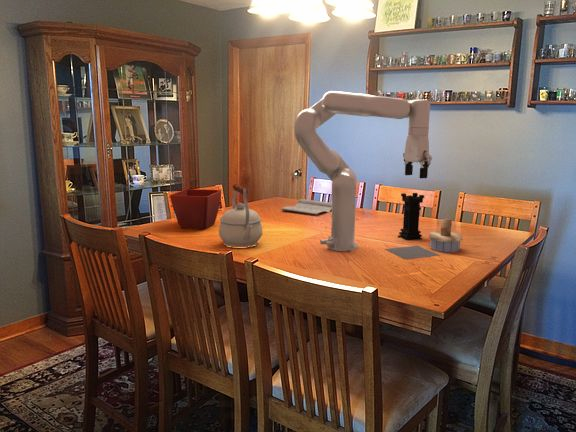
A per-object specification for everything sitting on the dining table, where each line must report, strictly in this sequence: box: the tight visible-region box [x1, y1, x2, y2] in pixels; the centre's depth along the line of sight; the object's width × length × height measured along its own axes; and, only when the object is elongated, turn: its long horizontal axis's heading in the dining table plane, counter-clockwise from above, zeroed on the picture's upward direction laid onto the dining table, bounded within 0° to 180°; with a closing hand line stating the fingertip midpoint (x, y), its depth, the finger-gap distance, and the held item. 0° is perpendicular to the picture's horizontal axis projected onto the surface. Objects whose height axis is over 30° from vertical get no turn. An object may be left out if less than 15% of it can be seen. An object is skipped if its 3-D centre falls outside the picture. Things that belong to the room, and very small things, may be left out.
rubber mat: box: [384, 245, 440, 260], centre depth 197 cm, size 16×15×1 cm
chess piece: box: [397, 192, 425, 241], centre depth 217 cm, size 8×8×20 cm
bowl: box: [429, 239, 461, 253], centre depth 202 cm, size 11×11×5 cm
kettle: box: [218, 183, 264, 247], centre depth 205 cm, size 25×18×25 cm
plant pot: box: [169, 188, 222, 230], centre depth 240 cm, size 19×19×17 cm
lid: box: [428, 217, 463, 242], centre depth 200 cm, size 13×13×8 cm
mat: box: [281, 198, 332, 217], centre depth 281 cm, size 23×24×5 cm
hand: (415, 176), depth 194 cm, fingers open, 9 cm apart
